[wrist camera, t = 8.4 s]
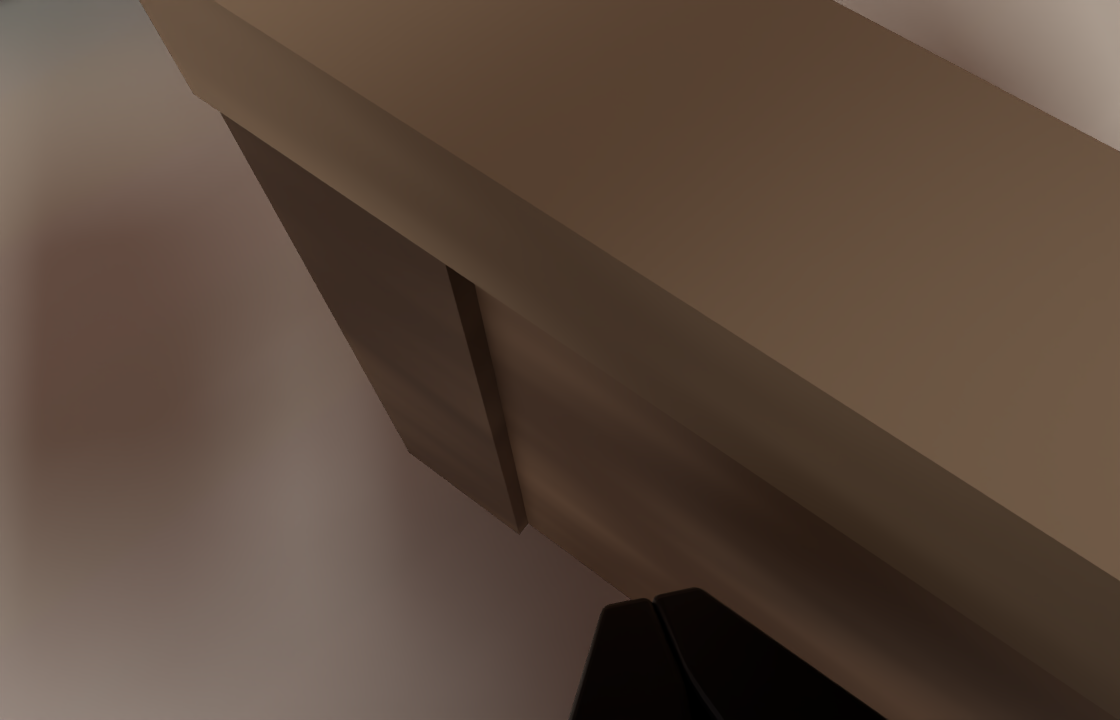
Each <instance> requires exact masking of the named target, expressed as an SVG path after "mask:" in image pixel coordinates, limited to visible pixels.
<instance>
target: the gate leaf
mask: <svg viewBox="0 0 1120 720" xmlns="http://www.w3.org/2000/svg"><path fill="white" fill-rule="evenodd" d="M139 1H140V2H141V4H142V6H143V8H144V9H145V11H146V13H147V14H148V16H149V18H150V20H151V21H152V23H153V25H154V26H155V28H156V30H157V32H158V33H159V35H160V37H161V39H162V40H163V42H164V44H165V45H166V47H167V49H168V51H169V52H170V54H171V56H172V57H173V59H174V61H175V63H176V64H177V66H178V68H179V70H180V71H181V73H182V75H183V76H184V78H185V80H186V82H187V83H188V85H189V87H190V88H191V90H192V92H193V94H195V95H196V96H197V97H199V98H200V99H202V100H203V101H205V102H206V103H208V104H209V105H211V106H212V107H214V108H215V109H217V110H218V111H220V113H221V115H222V116H223V118H224V120H225V122H226V124H227V125H228V127H229V129H230V131H231V133H232V134H233V136H234V138H235V140H236V142H237V143H238V145H239V147H240V149H241V151H242V152H243V154H244V156H245V158H246V160H247V161H248V163H249V165H250V167H251V169H252V170H253V172H254V174H255V176H256V178H257V179H258V181H259V183H260V185H261V187H262V188H263V190H264V192H265V194H266V195H267V197H268V199H269V201H270V203H271V204H272V206H273V208H274V210H275V212H276V213H277V215H278V217H279V219H280V221H281V222H282V224H283V226H284V228H285V230H286V231H287V233H288V235H289V237H290V239H291V240H292V242H293V244H294V246H295V248H296V249H297V251H298V253H299V255H300V257H301V258H302V260H303V262H304V264H305V266H306V267H307V269H308V271H309V273H310V275H311V276H312V278H313V280H314V282H315V284H316V285H317V287H318V289H319V291H320V293H321V294H322V296H323V298H324V300H325V302H326V303H327V305H328V307H329V309H330V311H331V312H332V314H333V316H334V318H335V320H336V321H337V323H338V325H339V327H340V329H341V330H342V332H343V334H344V336H345V338H346V339H347V341H348V343H349V345H350V347H351V348H352V350H353V352H354V354H355V356H356V357H357V359H358V361H359V363H360V365H361V366H362V368H363V370H364V372H365V374H366V375H367V377H368V379H369V381H370V383H371V384H372V386H373V388H374V390H375V392H376V393H377V395H378V397H379V399H380V401H381V402H382V404H383V406H384V408H385V410H386V411H387V413H388V415H389V417H390V419H391V420H392V422H393V424H394V426H395V428H396V429H397V431H398V433H399V435H400V437H401V438H402V440H403V442H404V444H405V446H406V447H407V449H408V451H409V453H411V454H412V455H413V456H415V457H416V458H417V459H419V460H420V461H421V462H423V463H424V464H425V465H427V466H428V467H429V468H431V469H432V470H433V471H435V472H436V473H437V474H439V475H440V476H442V477H443V478H444V479H446V480H447V481H448V482H450V483H451V484H452V485H454V486H455V487H456V488H458V489H459V490H460V491H462V492H463V493H464V494H466V495H467V496H468V497H470V498H471V499H472V500H474V501H475V502H476V503H478V504H479V505H480V506H482V507H483V508H484V509H486V510H487V511H488V512H490V513H491V514H492V515H494V516H495V517H497V518H498V519H499V520H501V521H502V522H503V523H505V524H506V525H507V526H509V527H510V528H511V529H513V530H514V531H515V532H517V533H518V534H519V535H520V533H521V532H522V531H523V529H524V528H525V527H526V525H527V524H528V523H529V524H530V525H531V526H533V527H534V528H535V529H537V530H538V531H539V532H541V533H542V534H544V535H545V536H546V537H548V538H549V539H550V540H552V541H553V542H554V543H556V544H557V545H558V546H560V547H561V548H562V549H564V550H565V551H566V552H568V553H569V554H571V555H572V556H573V557H575V558H576V559H577V560H579V561H580V562H581V563H583V564H584V565H585V566H587V567H588V568H589V569H591V570H592V571H594V572H595V573H596V574H598V575H599V576H600V577H602V578H603V579H604V580H606V581H607V582H608V583H610V584H611V585H612V586H614V587H615V588H617V589H618V590H619V591H621V592H622V593H623V594H625V595H626V596H627V597H629V598H630V599H631V600H634V599H639V598H647V599H649V600H650V601H651V602H652V601H653V598H654V597H655V596H656V595H659V594H663V593H668V592H672V591H677V590H682V589H687V588H691V587H698V588H701V589H703V590H705V591H706V592H707V593H709V594H710V595H712V596H713V597H715V598H716V599H717V600H719V601H720V602H722V603H723V604H725V605H726V606H727V607H729V608H730V609H732V610H733V611H734V612H736V613H737V614H739V615H740V616H742V617H743V618H744V619H746V620H747V621H749V622H750V623H752V624H753V625H754V626H756V627H757V628H759V629H760V630H761V631H763V632H764V633H766V634H767V635H769V636H770V637H771V638H773V639H774V640H776V641H777V642H779V643H780V644H781V645H783V646H784V647H786V648H787V649H789V650H790V651H791V652H793V653H794V654H796V655H797V656H798V657H800V658H801V659H803V660H804V661H806V662H807V663H808V664H810V665H811V666H813V667H814V668H816V669H817V670H818V671H820V672H821V673H823V674H824V675H825V676H827V677H828V678H830V679H831V680H833V681H834V682H835V683H837V684H838V685H840V686H841V687H843V688H844V689H845V690H847V691H848V692H850V693H851V694H852V695H854V696H855V697H857V698H858V699H860V700H861V701H862V702H864V703H865V704H867V705H868V706H870V707H871V708H872V709H874V710H875V711H877V712H878V713H880V714H881V715H882V716H884V717H885V718H887V719H888V720H1120V152H1119V151H1117V150H1116V149H1114V148H1112V147H1110V146H1108V145H1106V144H1104V143H1102V142H1100V141H1098V140H1097V139H1095V138H1093V137H1091V136H1089V135H1087V134H1085V133H1083V132H1081V131H1080V130H1078V129H1076V128H1074V127H1072V126H1070V125H1068V124H1066V123H1064V122H1062V121H1061V120H1059V119H1057V118H1055V117H1053V116H1051V115H1049V114H1047V113H1045V112H1044V111H1042V110H1040V109H1038V108H1036V107H1034V106H1032V105H1030V104H1028V103H1026V102H1025V101H1023V100H1021V99H1019V98H1017V97H1015V96H1013V95H1011V94H1009V93H1008V92H1006V91H1004V90H1002V89H1000V88H998V87H996V86H994V85H992V84H990V83H989V82H987V81H985V80H983V79H981V78H979V77H977V76H975V75H973V74H971V73H970V72H968V71H966V70H964V69H962V68H960V67H958V66H956V65H954V64H953V63H951V62H949V61H947V60H945V59H943V58H941V57H939V56H937V55H935V54H934V53H932V52H930V51H928V50H926V49H924V48H922V47H920V46H918V45H917V44H915V43H913V42H911V41H909V40H907V39H905V38H903V37H901V36H899V35H898V34H896V33H894V32H892V31H890V30H888V29H886V28H884V27H882V26H880V25H879V24H877V23H875V22H873V21H871V20H869V19H867V18H865V17H863V16H862V15H860V14H858V13H856V12H854V11H852V10H850V9H848V8H846V7H844V6H843V5H841V4H839V3H837V2H835V1H833V0H139Z"/></svg>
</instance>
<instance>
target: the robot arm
mask: <svg viewBox="0 0 1120 720" xmlns="http://www.w3.org/2000/svg"><path fill="white" fill-rule="evenodd" d="M569 720H888V719H887V718H885V717H884V716H882V715H881V714H880V713H878V712H877V711H875V710H874V709H872V708H871V707H870V706H868V705H867V704H865V703H864V702H862V701H861V700H860V699H858V698H857V697H855V696H854V695H852V694H851V693H850V692H848V691H847V690H845V689H844V688H843V687H841V686H840V685H838V684H837V683H835V682H834V681H833V680H831V679H830V678H828V677H827V676H825V675H824V674H823V673H821V672H820V671H818V670H817V669H816V668H814V667H813V666H811V665H810V664H808V663H807V662H806V661H804V660H803V659H801V658H800V657H798V656H797V655H796V654H794V653H793V652H791V651H790V650H789V649H787V648H786V647H784V646H783V645H781V644H780V643H779V642H777V641H776V640H774V639H773V638H771V637H770V636H769V635H767V634H766V633H764V632H763V631H761V630H760V629H759V628H757V627H756V626H754V625H753V624H752V623H750V622H749V621H747V620H746V619H744V618H743V617H742V616H740V615H739V614H737V613H736V612H734V611H733V610H732V609H730V608H729V607H727V606H726V605H725V604H723V603H722V602H720V601H719V600H717V599H716V598H715V597H713V596H712V595H710V594H709V593H707V592H706V591H705V590H703V589H701V588H698V587H691V588H687V589H682V590H677V591H672V592H668V593H663V594H659V595H656V596H655V597H654V598H653V601H652V602H651V601H650V600H649V599H647V598H639V599H634V600H629V601H624V602H619V603H614V604H609V605H607V606H605V607H604V608H603V609H602V611H601V614H600V617H599V620H598V623H597V627H596V630H595V633H594V637H593V640H592V643H591V647H590V650H589V653H588V657H587V660H586V663H585V666H584V670H583V673H582V676H581V680H580V683H579V686H578V690H577V693H576V696H575V700H574V703H573V706H572V710H571V713H570V716H569Z"/></svg>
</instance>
